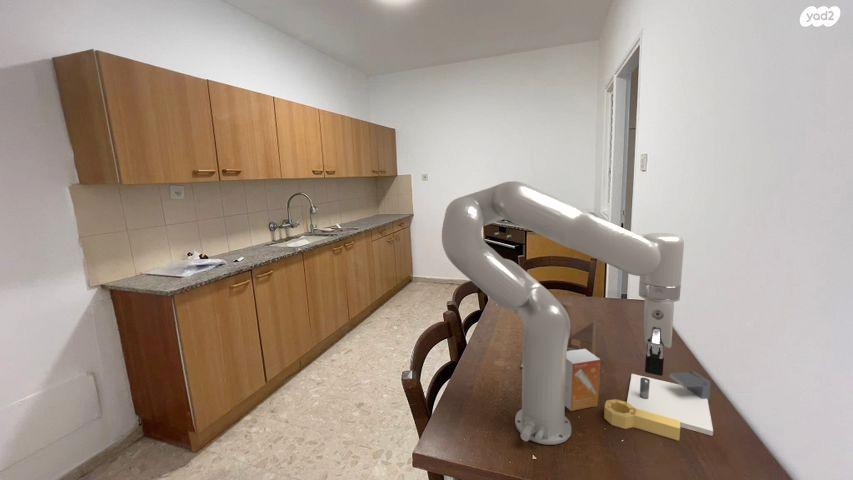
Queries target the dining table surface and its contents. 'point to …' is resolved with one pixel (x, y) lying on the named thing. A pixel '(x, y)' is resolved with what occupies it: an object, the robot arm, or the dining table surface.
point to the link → (640, 419)
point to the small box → (581, 379)
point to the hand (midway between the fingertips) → (654, 363)
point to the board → (672, 403)
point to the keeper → (693, 383)
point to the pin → (644, 388)
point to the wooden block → (581, 332)
